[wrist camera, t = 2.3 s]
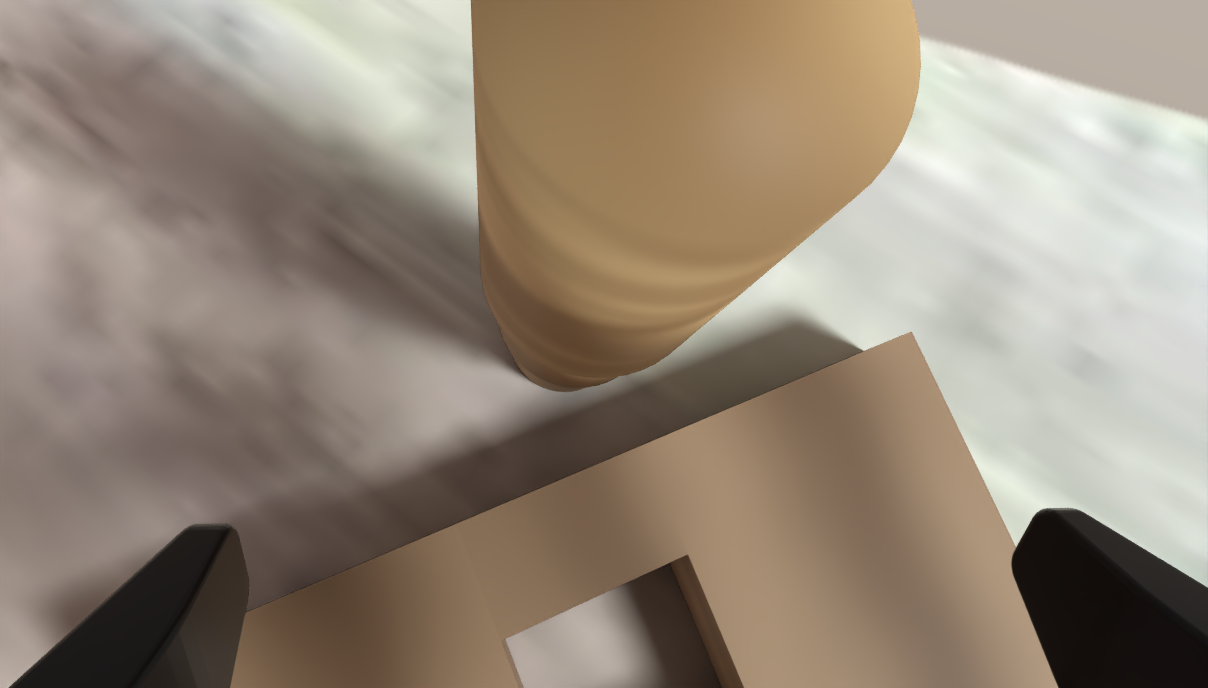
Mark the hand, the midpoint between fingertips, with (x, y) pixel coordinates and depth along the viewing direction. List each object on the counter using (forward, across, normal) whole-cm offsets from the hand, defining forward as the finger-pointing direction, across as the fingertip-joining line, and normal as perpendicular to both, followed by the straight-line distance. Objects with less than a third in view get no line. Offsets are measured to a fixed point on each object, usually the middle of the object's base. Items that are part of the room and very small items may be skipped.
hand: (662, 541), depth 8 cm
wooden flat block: (+6, -1, +11) cm, 12 cm away
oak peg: (+12, 0, +5) cm, 13 cm away
